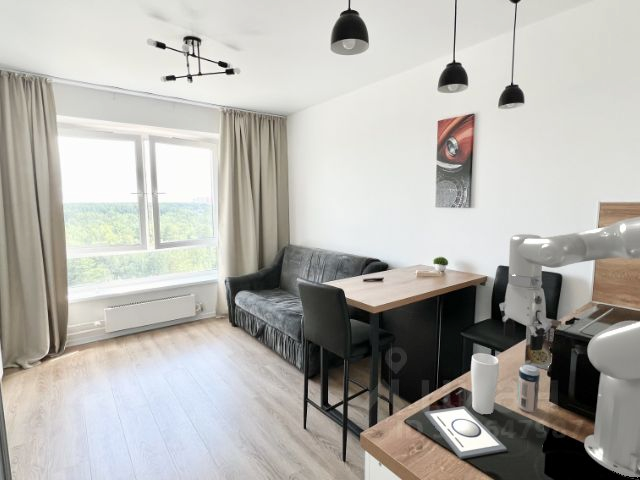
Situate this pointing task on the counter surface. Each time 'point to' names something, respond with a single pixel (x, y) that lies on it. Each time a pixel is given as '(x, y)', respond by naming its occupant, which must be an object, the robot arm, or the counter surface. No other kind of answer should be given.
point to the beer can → (528, 388)
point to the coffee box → (542, 356)
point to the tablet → (464, 432)
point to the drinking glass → (484, 382)
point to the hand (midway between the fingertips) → (522, 342)
